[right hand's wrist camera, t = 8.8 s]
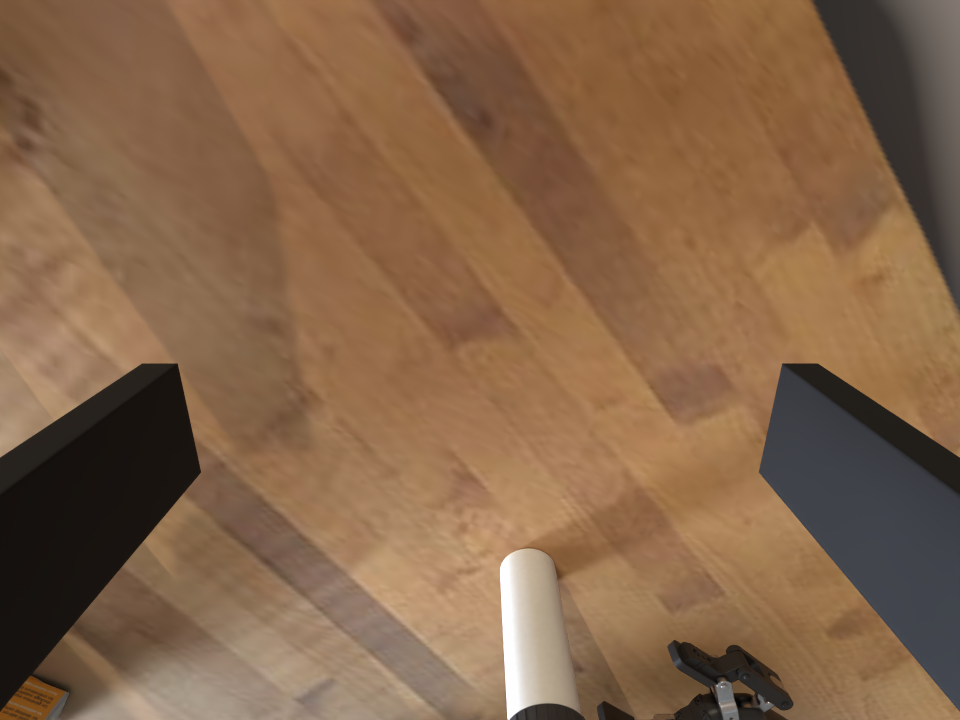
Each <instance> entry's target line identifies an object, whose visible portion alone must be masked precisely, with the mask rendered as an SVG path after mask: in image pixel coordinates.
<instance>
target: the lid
mask: <svg viewBox="0 0 960 720" xmlns="http://www.w3.org/2000/svg"><path fill="white" fill-rule="evenodd" d="M509 720H585V719H584V717H583V716H582V715H581V714H580V713H578V712H577V711H576V710H574V709H572V708H570V707H567V706H564V705H560V704H553V703H544V704H536V705H532V706H529V707H526V708H524V709H522V710H520V711H519V712H517V713H516V714H514V715H513V716H512V717H511V718H510V719H509Z"/></svg>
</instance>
